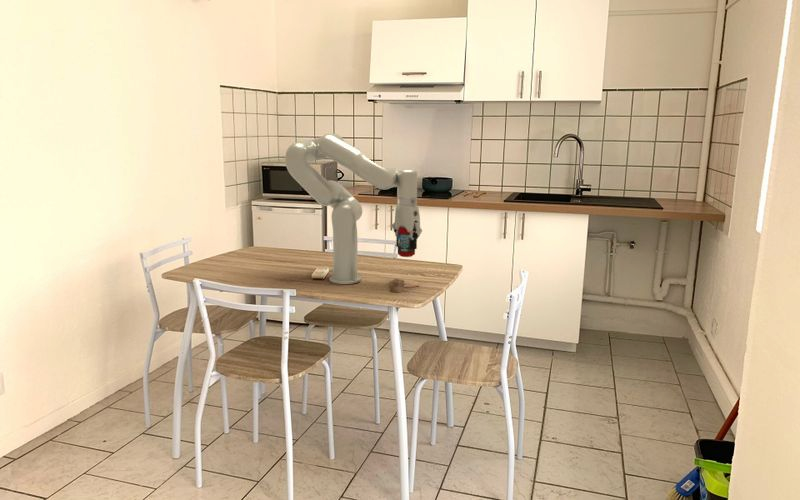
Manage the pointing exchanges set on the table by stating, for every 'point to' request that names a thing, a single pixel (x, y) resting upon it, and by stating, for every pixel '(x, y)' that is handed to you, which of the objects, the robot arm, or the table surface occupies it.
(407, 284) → the coaster
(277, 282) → the table surface
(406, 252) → the beverage can
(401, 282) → the walnut block
